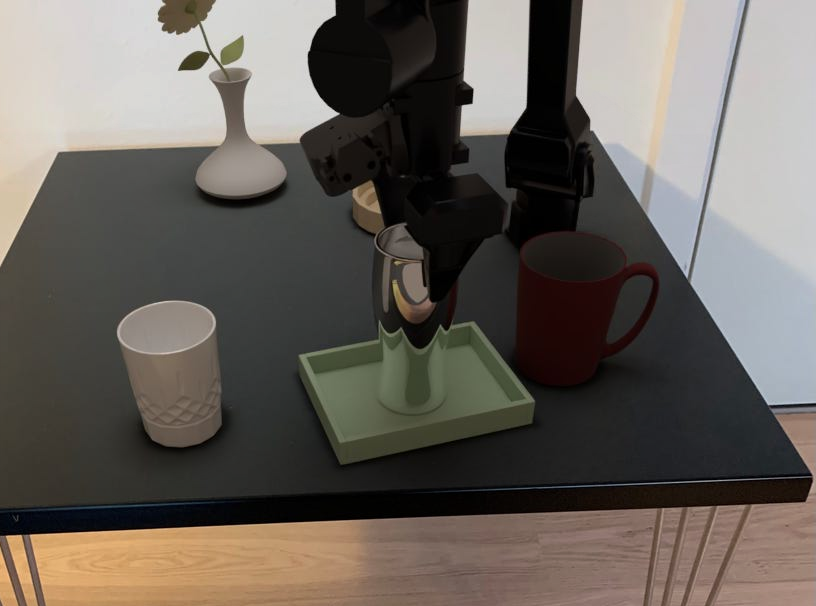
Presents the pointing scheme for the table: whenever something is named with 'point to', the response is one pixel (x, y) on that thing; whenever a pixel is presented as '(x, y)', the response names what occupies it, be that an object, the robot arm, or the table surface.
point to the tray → (393, 432)
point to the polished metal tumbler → (408, 325)
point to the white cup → (174, 370)
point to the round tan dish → (367, 208)
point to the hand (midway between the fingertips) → (415, 272)
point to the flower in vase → (238, 154)
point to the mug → (571, 305)
